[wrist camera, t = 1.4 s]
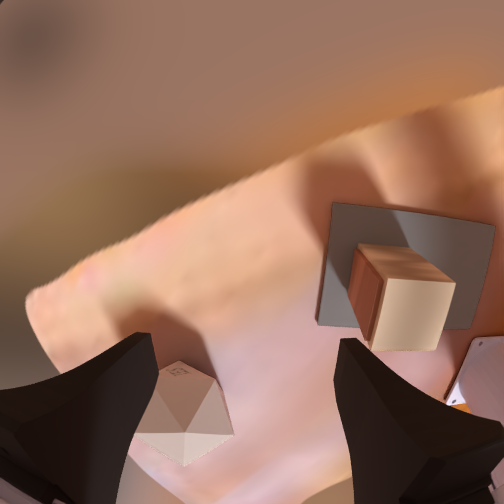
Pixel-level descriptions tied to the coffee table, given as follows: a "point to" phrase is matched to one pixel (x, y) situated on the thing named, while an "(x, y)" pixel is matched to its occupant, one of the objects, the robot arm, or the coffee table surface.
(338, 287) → the slate mat
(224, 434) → the die
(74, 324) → the coffee table surface
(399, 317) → the maple block
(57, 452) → the robot arm
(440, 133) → the coffee table surface
